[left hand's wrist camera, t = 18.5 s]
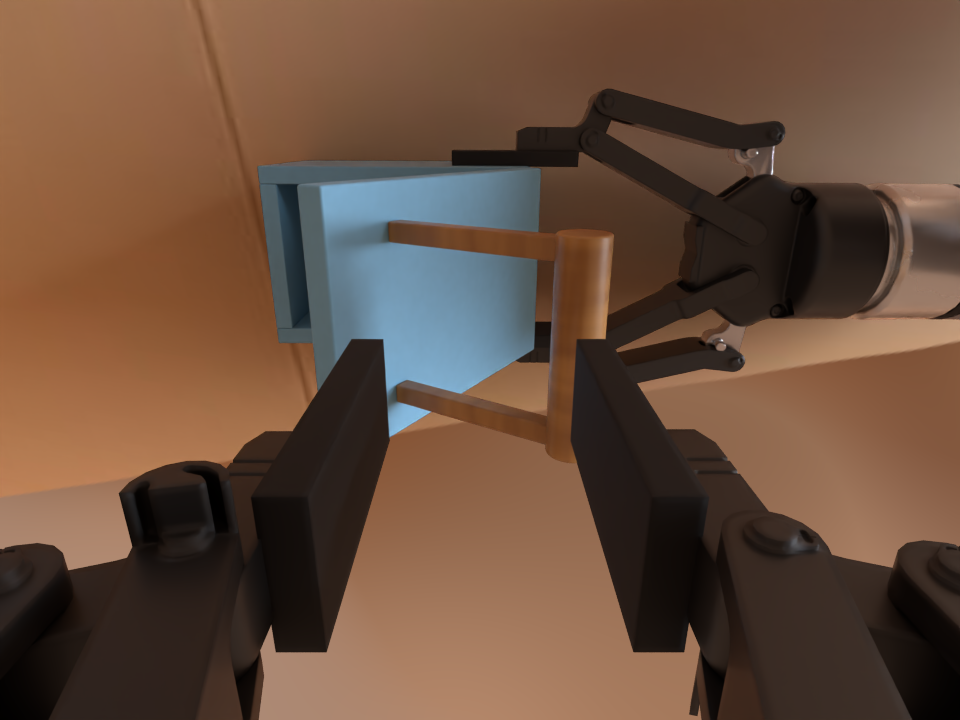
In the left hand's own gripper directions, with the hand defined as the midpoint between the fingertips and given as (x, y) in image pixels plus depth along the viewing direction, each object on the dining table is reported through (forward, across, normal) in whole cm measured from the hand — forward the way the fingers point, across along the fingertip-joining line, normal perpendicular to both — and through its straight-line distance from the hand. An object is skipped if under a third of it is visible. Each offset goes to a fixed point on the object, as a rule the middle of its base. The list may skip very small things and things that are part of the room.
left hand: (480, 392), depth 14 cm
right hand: (+20, -1, 0) cm, 20 cm away
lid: (+11, -2, 0) cm, 11 cm away
